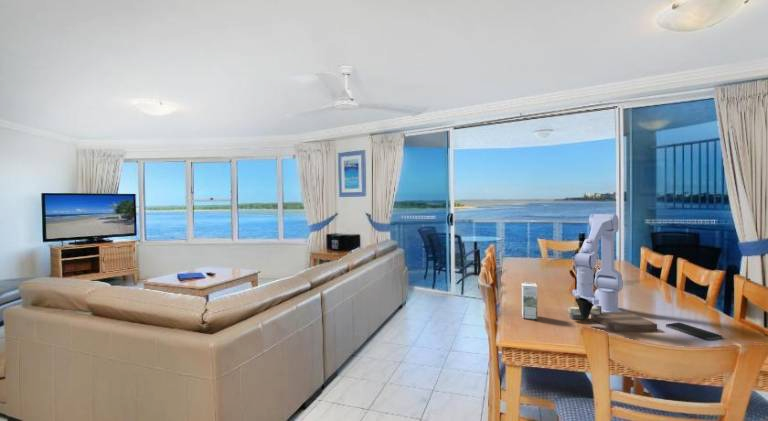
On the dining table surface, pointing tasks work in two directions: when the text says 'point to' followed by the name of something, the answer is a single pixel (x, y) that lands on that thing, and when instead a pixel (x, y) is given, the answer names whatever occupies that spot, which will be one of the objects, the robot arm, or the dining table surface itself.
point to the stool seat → (624, 322)
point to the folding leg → (576, 311)
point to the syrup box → (529, 300)
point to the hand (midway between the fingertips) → (585, 317)
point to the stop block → (576, 317)
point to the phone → (694, 331)
